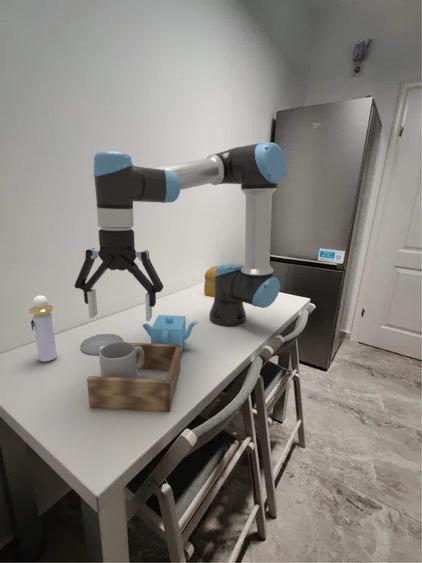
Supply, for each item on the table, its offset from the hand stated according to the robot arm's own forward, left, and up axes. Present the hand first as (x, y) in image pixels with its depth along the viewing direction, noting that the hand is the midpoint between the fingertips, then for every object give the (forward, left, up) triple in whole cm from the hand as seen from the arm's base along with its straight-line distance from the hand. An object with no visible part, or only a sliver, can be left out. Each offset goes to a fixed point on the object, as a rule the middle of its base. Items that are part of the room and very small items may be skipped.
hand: (121, 317), depth 67 cm
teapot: (-9, -19, -19) cm, 28 cm away
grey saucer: (+14, -20, -19) cm, 31 cm away
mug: (0, 0, -19) cm, 19 cm away
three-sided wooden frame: (-4, 0, -19) cm, 19 cm away
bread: (-30, -77, -19) cm, 84 cm away
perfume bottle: (+26, -10, -19) cm, 34 cm away
